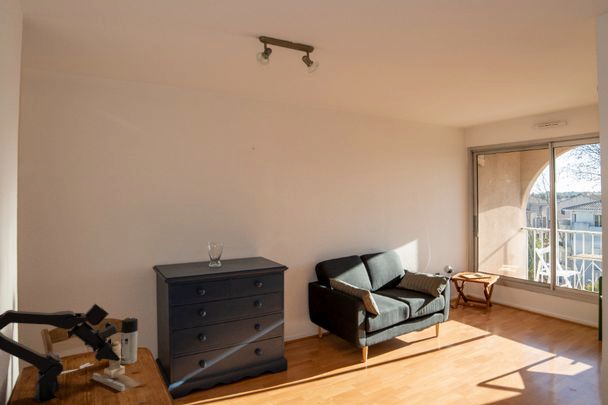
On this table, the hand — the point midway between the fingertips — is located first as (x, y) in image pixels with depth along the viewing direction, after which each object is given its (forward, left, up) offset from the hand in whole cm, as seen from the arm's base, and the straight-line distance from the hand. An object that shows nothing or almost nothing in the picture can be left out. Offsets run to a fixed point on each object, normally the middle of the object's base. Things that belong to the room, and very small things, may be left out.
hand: (118, 358), depth 157 cm
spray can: (+13, +13, -10) cm, 21 cm away
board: (-2, -2, -9) cm, 10 cm away
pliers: (-5, +24, -10) cm, 27 cm away
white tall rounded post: (-1, +1, -6) cm, 6 cm away
